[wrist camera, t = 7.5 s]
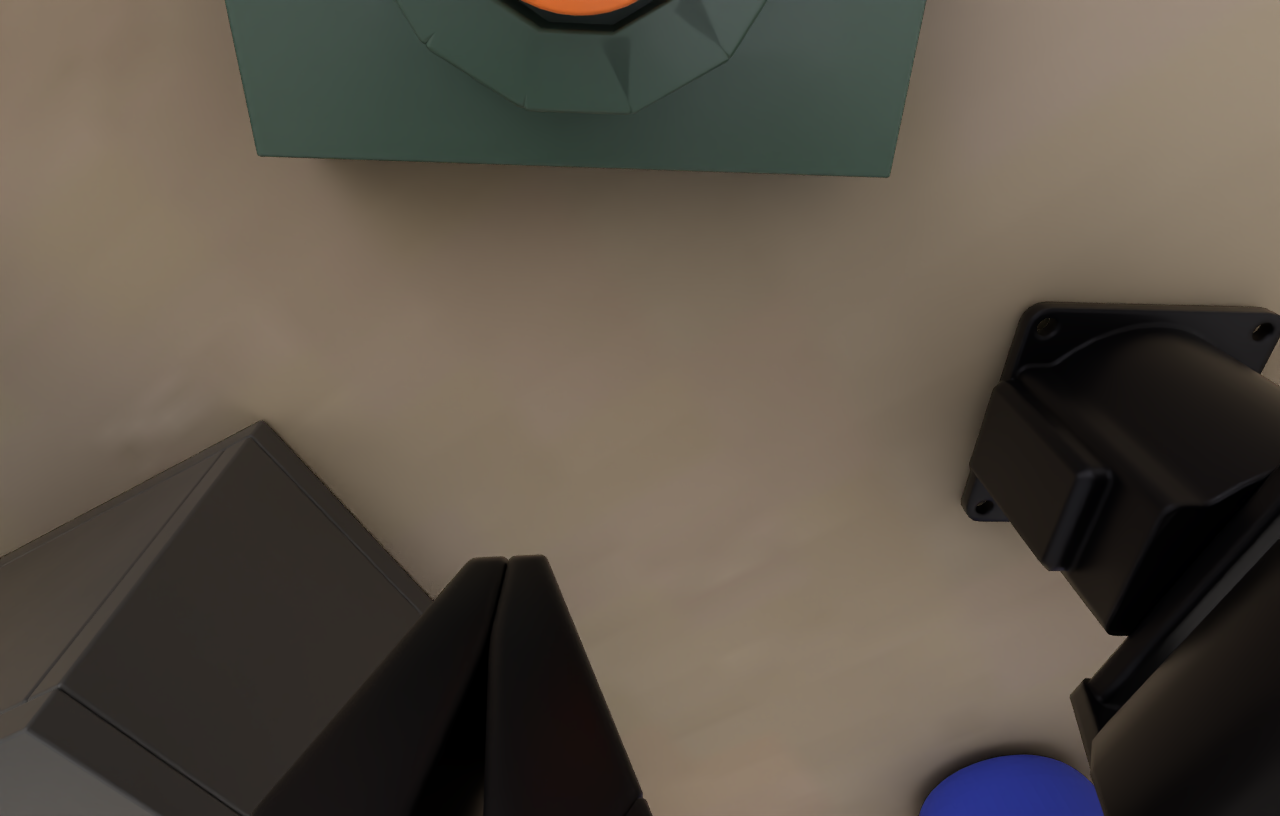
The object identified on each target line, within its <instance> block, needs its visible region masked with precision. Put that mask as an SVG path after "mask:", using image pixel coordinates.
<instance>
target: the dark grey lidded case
mask: <svg viewBox="0 0 1280 816" xmlns="http://www.w3.org/2000/svg"><path fill="white" fill-rule="evenodd" d="M432 602H433V601H432V600H431V599H430V598H429V597H428V596H427V595H426V594H425V593H424V591H423V590H422V589H421V588H420V587H419V586H418V585H417V584H416V583H415V582H414V581H413V580H412V579H411V578H410V577H409V575H408V574H407V573H406V572H405V571H404V570H403V569H402V568H401V567H400V566H399V565H398V564H397V563H396V562H395V560H394V559H393V558H392V557H391V556H390V555H389V554H388V553H387V552H386V551H385V550H384V549H383V548H382V547H381V546H380V544H379V543H378V542H377V541H376V540H375V539H374V538H373V537H372V536H371V535H370V534H369V533H368V532H367V531H366V529H365V528H364V527H363V526H362V525H361V524H360V523H359V522H358V521H357V520H356V519H355V518H354V517H353V516H352V515H351V513H350V512H349V511H348V510H347V509H346V508H345V507H344V506H343V505H342V504H341V503H340V502H339V501H338V500H337V499H336V497H335V496H334V495H333V494H332V493H331V492H330V491H329V490H328V489H327V488H326V487H325V486H324V485H323V484H322V482H321V481H320V480H319V479H318V478H317V477H316V476H315V475H314V474H313V473H312V472H311V471H310V470H309V469H308V468H307V466H306V465H305V464H304V463H303V462H302V461H301V460H300V459H299V458H298V457H297V456H296V455H295V454H294V453H293V451H292V450H291V449H290V448H289V447H288V446H287V445H286V444H285V443H284V442H283V441H282V440H281V439H280V438H279V437H278V435H277V434H276V433H275V432H274V431H273V430H272V429H271V428H270V427H269V426H268V425H267V424H266V423H265V422H264V421H263V420H262V421H259V422H257V423H255V424H253V425H251V426H249V427H247V428H246V429H244V430H242V431H240V432H238V433H236V434H234V435H232V436H230V437H229V438H227V439H225V440H223V441H221V442H219V443H217V444H215V445H213V446H212V447H210V448H208V449H206V450H204V451H202V452H200V453H198V454H196V455H195V456H193V457H191V458H189V459H187V460H185V461H183V462H181V463H179V464H178V465H176V466H174V467H172V468H170V469H168V470H166V471H164V472H162V473H161V474H159V475H157V476H155V477H153V478H151V479H149V480H147V481H145V482H144V483H142V484H140V485H138V486H136V487H134V488H132V489H130V490H129V491H127V492H125V493H123V494H121V495H119V496H117V497H115V498H113V499H112V500H110V501H108V502H106V503H104V504H102V505H100V506H98V507H96V508H95V509H93V510H91V511H89V512H87V513H85V514H83V515H81V516H79V517H78V518H76V519H74V520H72V521H70V522H68V523H66V524H64V525H62V526H61V527H59V528H57V529H55V530H53V531H51V532H49V533H47V534H45V535H44V536H42V537H40V538H38V539H36V540H34V541H32V542H30V543H28V544H27V545H25V546H23V547H21V548H19V549H17V550H15V551H13V552H11V553H10V554H8V555H6V556H4V557H2V558H0V816H251V812H252V811H253V810H254V809H255V807H256V806H257V805H258V804H259V803H260V802H261V801H262V799H263V798H264V797H265V796H266V795H267V794H268V792H269V791H270V790H271V789H272V788H273V787H274V785H275V784H276V783H277V782H278V781H279V780H280V778H281V777H282V776H283V775H284V774H285V773H286V772H287V770H288V769H289V768H290V767H291V766H292V765H293V763H294V762H295V761H296V760H297V759H298V758H299V756H300V755H301V754H302V753H303V752H304V751H305V750H306V748H307V747H308V746H309V745H310V744H311V743H312V741H313V740H314V739H315V738H316V737H317V736H318V734H319V733H320V732H321V731H322V730H323V729H324V728H325V726H326V725H327V724H328V723H329V722H330V721H331V719H332V718H333V717H334V716H335V715H336V714H337V712H338V711H339V710H340V709H341V708H342V707H343V706H344V704H345V703H346V702H347V701H348V700H349V699H350V697H351V696H352V695H353V694H354V693H355V692H356V690H357V689H358V688H359V687H360V686H361V685H362V683H363V682H364V681H365V680H366V679H367V678H368V677H369V675H370V674H371V673H372V672H373V671H374V670H375V668H376V667H377V666H378V665H379V664H380V663H381V661H382V660H383V659H384V658H385V657H386V656H387V655H388V653H389V652H390V651H391V650H392V649H393V648H394V646H395V645H396V644H397V643H398V642H399V641H400V639H401V638H402V637H403V636H404V635H405V634H406V633H407V631H408V630H409V629H410V628H411V627H412V626H413V624H414V623H415V622H416V621H417V620H418V619H419V617H420V616H421V615H422V614H423V613H424V612H425V611H426V609H427V608H428V607H429V606H430V605H431V604H432Z"/></svg>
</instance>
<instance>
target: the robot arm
mask: <svg viewBox="0 0 1280 816" xmlns="http://www.w3.org/2000/svg"><path fill="white" fill-rule="evenodd" d="M1046 318H1049V322H1048V324H1047V325H1046V326H1045V327H1044V328H1042V329H1040V330H1037V326H1038V325H1039V323H1040V322H1041V321H1043V320H1044V319H1046ZM1259 325H1261V326H1260V327H1259V328H1258V330H1257V331H1255V332H1254V333H1253V331H1254V330H1255V329H1256V327H1258V326H1259ZM1279 338H1280V315H1278V314H1276V313H1274V312H1272V311H1270V310H1268V309H1266V308H1262V307H1235V306H1195V305H1154V304H1114V303H1073V302H1041V303H1037V304H1035V305H1033V306H1031V307H1029V308H1028V309H1027V310H1026V311H1025V312H1024V313H1023V315H1022V317H1021V318H1020V320H1019V323H1018V326H1017V330H1016V333H1015V336H1014V339H1013V342H1012V345H1011V348H1010V351H1009V354H1008V357H1007V360H1006V363H1005V366H1004V369H1003V372H1002V376H1001V379H1000V382H999V383H998V384H997V386H996V387H995V388H994V389H993V392H992V395H991V398H990V401H989V404H988V407H987V410H986V414H985V417H984V420H983V423H982V426H981V429H980V432H979V435H978V438H977V441H976V444H975V448H974V451H973V454H972V457H971V460H970V464H969V465H970V468H971V471H970V474H969V477H968V480H967V483H966V486H965V489H964V492H963V495H962V498H961V505H962V507H963V509H964V511H965V512H966V514H967V515H968V517H969V518H971V519H972V520H974V521H983V522H1011V524H1012V525H1013V526H1014V528H1015V529H1016V530H1017V532H1018V533H1019V535H1020V536H1021V537H1022V539H1023V540H1024V541H1025V543H1026V544H1027V545H1028V547H1029V548H1030V549H1031V551H1032V552H1033V554H1034V555H1035V556H1036V558H1037V559H1038V560H1039V562H1040V563H1041V564H1042V565H1043V566H1044V567H1045V568H1046V569H1047V570H1048V571H1061V573H1062V574H1063V575H1064V577H1065V578H1066V579H1067V581H1068V582H1069V583H1070V585H1071V586H1072V587H1073V589H1074V590H1075V591H1076V592H1077V594H1078V595H1079V596H1080V598H1081V599H1082V600H1083V602H1084V603H1085V604H1086V606H1087V607H1088V608H1089V610H1090V611H1091V612H1092V614H1093V615H1094V616H1095V617H1096V619H1097V620H1098V621H1099V623H1100V624H1101V625H1102V627H1103V628H1104V629H1105V631H1106V632H1107V633H1108V634H1109V635H1114V636H1128V637H1127V638H1126V640H1125V641H1124V642H1123V643H1122V644H1121V645H1120V646H1119V647H1118V649H1117V650H1116V651H1115V652H1114V653H1113V654H1112V655H1111V657H1110V658H1109V659H1108V660H1107V661H1106V662H1105V663H1104V665H1103V666H1102V667H1101V668H1100V669H1099V670H1098V671H1097V673H1096V674H1095V675H1094V676H1093V677H1092V678H1091V679H1090V678H1085V679H1084V680H1083V681H1082V682H1081V683H1080V684H1079V686H1078V687H1077V688H1076V689H1075V690H1074V691H1073V692H1072V694H1071V695H1070V699H1071V703H1072V706H1073V710H1074V713H1075V717H1076V720H1077V724H1078V727H1079V731H1080V734H1081V738H1082V741H1083V745H1084V748H1085V752H1086V755H1087V759H1088V762H1089V766H1090V769H1091V770H1090V775H1091V778H1092V781H1093V784H1094V787H1095V790H1096V793H1097V796H1098V799H1099V802H1100V805H1101V808H1102V811H1103V814H1104V816H1280V386H1278V385H1277V384H1275V383H1273V382H1272V381H1270V380H1269V379H1267V378H1265V377H1264V376H1262V375H1260V374H1261V372H1262V370H1263V368H1264V366H1265V364H1266V362H1267V361H1268V359H1269V357H1270V355H1271V353H1272V351H1273V349H1274V347H1275V345H1276V343H1277V342H1278V340H1279ZM985 500H986V502H985V503H983V504H982V505H979V506H977V505H978V503H980V502H982V501H985ZM251 816H652V813H651V811H650V808H649V806H648V803H647V801H646V800H645V799H644V798H643V793H642V790H641V787H640V785H639V782H638V780H637V777H636V775H635V772H634V770H633V768H632V765H631V763H630V760H629V758H628V755H627V753H626V750H625V748H624V746H623V743H622V741H621V738H620V736H619V733H618V731H617V728H616V726H615V723H614V721H613V719H612V716H611V714H610V711H609V709H608V706H607V704H606V701H605V699H604V696H603V694H602V692H601V689H600V687H599V684H598V682H597V679H596V677H595V674H594V672H593V669H592V667H591V665H590V662H589V660H588V657H587V655H586V652H585V650H584V647H583V645H582V642H581V640H580V638H579V635H578V633H577V630H576V628H575V625H574V623H573V620H572V618H571V616H570V613H569V611H568V608H567V606H566V603H565V601H564V598H563V596H562V593H561V591H560V589H559V586H558V584H557V581H556V579H555V576H554V574H553V571H552V569H551V566H550V564H549V562H548V559H547V558H546V557H545V556H544V555H521V556H513V557H511V558H510V559H509V561H508V560H507V559H506V558H505V557H502V556H500V557H479V558H473V559H471V560H469V561H468V562H467V563H466V564H465V565H464V566H463V568H462V569H461V570H460V571H459V572H458V573H457V575H456V576H455V577H454V578H453V579H452V580H451V582H450V583H449V584H448V585H447V586H446V587H445V588H444V590H443V591H442V592H441V593H440V594H439V595H438V597H437V598H436V599H435V600H434V601H433V602H432V604H431V605H430V606H429V607H428V608H427V609H426V611H425V612H424V613H423V614H422V615H421V616H420V617H419V619H418V620H417V621H416V622H415V623H414V624H413V626H412V627H411V628H410V629H409V630H408V631H407V633H406V634H405V635H404V636H403V637H402V638H401V639H400V641H399V642H398V643H397V644H396V645H395V646H394V648H393V649H392V650H391V651H390V652H389V653H388V655H387V656H386V657H385V658H384V659H383V660H382V661H381V663H380V664H379V665H378V666H377V667H376V668H375V670H374V671H373V672H372V673H371V674H370V675H369V677H368V678H367V679H366V680H365V681H364V682H363V683H362V685H361V686H360V687H359V688H358V689H357V690H356V692H355V693H354V694H353V695H352V696H351V697H350V699H349V700H348V701H347V702H346V703H345V704H344V706H343V707H342V708H341V709H340V710H339V711H338V712H337V714H336V715H335V716H334V717H333V718H332V719H331V721H330V722H329V723H328V724H327V725H326V726H325V728H324V729H323V730H322V731H321V732H320V733H319V734H318V736H317V737H316V738H315V739H314V740H313V741H312V743H311V744H310V745H309V746H308V747H307V748H306V750H305V751H304V752H303V753H302V754H301V755H300V756H299V758H298V759H297V760H296V761H295V762H294V763H293V765H292V766H291V767H290V768H289V769H288V770H287V772H286V773H285V774H284V775H283V776H282V777H281V778H280V780H279V781H278V782H277V783H276V784H275V785H274V787H273V788H272V789H271V790H270V791H269V792H268V794H267V795H266V796H265V797H264V798H263V799H262V801H261V802H260V803H259V804H258V805H257V806H256V807H255V809H254V810H253V811H252V812H251Z"/></svg>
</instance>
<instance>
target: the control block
mask: <svg viewBox="0 0 1280 816" xmlns="http://www.w3.org/2000/svg"><path fill="white" fill-rule="evenodd" d="M225 3H226V8H227V13H228V18H229V22H230V27H231V32H232V37H233V41H234V46H235V51H236V56H237V60H238V65H239V70H240V75H241V79H242V84H243V89H244V94H245V98H246V103H247V108H248V113H249V117H250V122H251V127H252V132H253V136H254V141H255V146H256V151H257V154H258V156H261V157H291V158H320V159H350V160H379V161H408V162H438V163H467V164H496V165H526V166H555V167H584V168H614V169H643V170H672V171H702V172H731V173H760V174H790V175H819V176H848V177H878V178H887V177H889V176H890V173H891V168H892V163H893V158H894V153H895V148H896V144H897V139H898V134H899V129H900V124H901V120H902V115H903V110H904V105H905V100H906V96H907V91H908V86H909V81H910V76H911V72H912V67H913V62H914V57H915V52H916V48H917V43H918V38H919V33H920V28H921V24H922V19H923V14H924V9H925V4H926V0H638V1H636V2H635V3H633V4H631V5H629V6H627V7H624V8H621V9H618V10H615V11H612V12H608V13H602V14H597V15H584V16H573V15H565V14H557V13H554V12H550V11H546V10H542V9H539V8H537V7H535V6H532V5H530V4H528V3H525V2H523V1H522V0H225Z"/></svg>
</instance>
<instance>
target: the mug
mask: <svg viewBox="0 0 1280 816" xmlns="http://www.w3.org/2000/svg"><path fill="white" fill-rule="evenodd" d="M919 816H1104V814H1103V811H1102V808H1101V805H1100V802H1099V799H1098V796H1097V793H1096V790H1095V787H1094V785H1093V784H1092V783H1091V782H1090V781H1089V780H1088V779H1087V778H1086V777H1085V776H1084V775H1082V774H1081V773H1080V772H1078V771H1077V770H1076V769H1074V768H1073V767H1071V766H1069V765H1067V764H1065V763H1063V762H1061V761H1058V760H1055V759H1052V758H1048V757H1044V756H1037V755H1023V754H1022V755H1007V756H1000V757H995V758H991V759H987V760H983V761H980V762H977V763H974V764H972V765H969V766H967V767H965V768H963V769H960V770H959V771H957V772H955V773H954V774H952V775H950V776H949V777H947V778H946V779H945V780H943V781H942V782H941V783H940V784H939V785H938V786H936V787H935V788H934V789H933V790H932V792H931V793H930V794H929V795H928V797H927V798H926V800H925V802H924V804H923V805H922V808H921V811H920V814H919Z"/></svg>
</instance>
